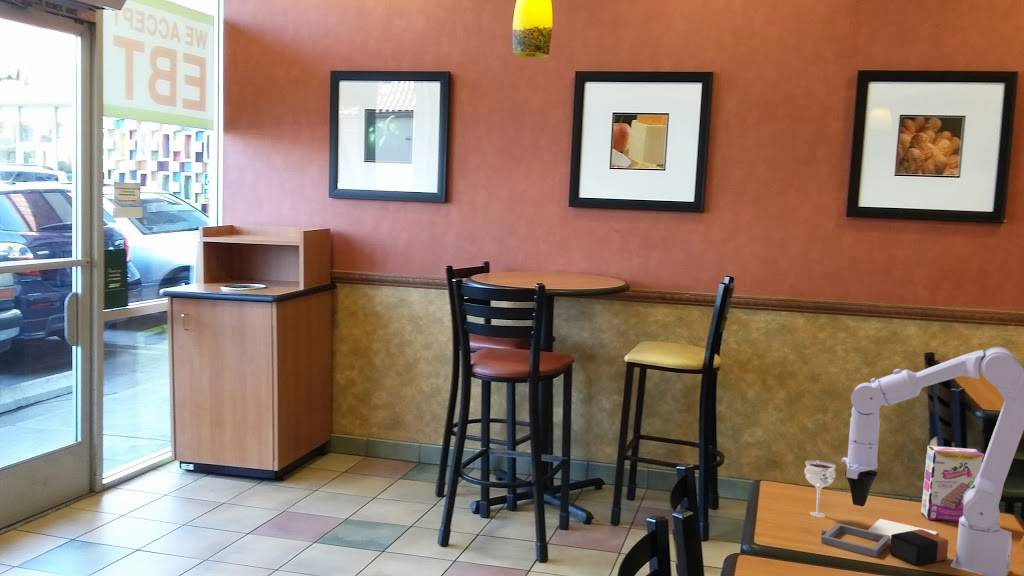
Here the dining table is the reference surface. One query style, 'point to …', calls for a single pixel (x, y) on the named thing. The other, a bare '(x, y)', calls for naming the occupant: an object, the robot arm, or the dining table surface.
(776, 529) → the dining table surface
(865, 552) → the frame
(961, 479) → the candy bar box
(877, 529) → the mat
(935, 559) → the battery
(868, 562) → the dining table surface
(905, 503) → the dining table surface
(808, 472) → the wineglass
